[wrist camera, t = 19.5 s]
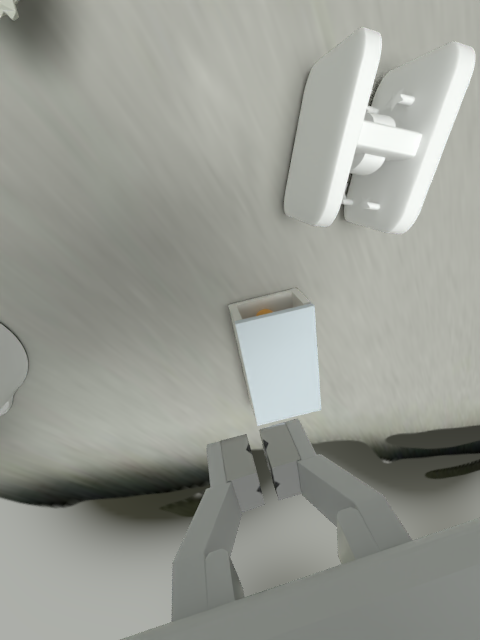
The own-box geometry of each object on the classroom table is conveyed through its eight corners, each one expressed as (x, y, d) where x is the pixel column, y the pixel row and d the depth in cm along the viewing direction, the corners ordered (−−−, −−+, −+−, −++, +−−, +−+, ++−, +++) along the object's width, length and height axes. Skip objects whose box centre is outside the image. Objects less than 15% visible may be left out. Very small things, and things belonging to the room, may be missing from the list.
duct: (249, 399, 49) (256, 421, 44) (228, 304, 40) (234, 321, 36) (305, 383, 50) (317, 403, 45) (296, 287, 41) (310, 301, 37)
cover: (256, 421, 44) (257, 425, 44) (234, 321, 36) (235, 324, 35) (319, 406, 45) (321, 409, 44) (312, 303, 36) (314, 305, 36)
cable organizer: (306, 57, 30) (374, -2, 19) (394, 81, 32) (495, 39, 22) (278, 212, 36) (317, 228, 26) (353, 222, 38) (416, 240, 28)
